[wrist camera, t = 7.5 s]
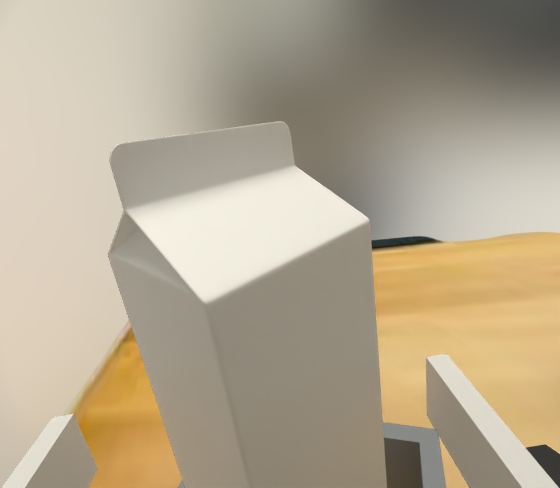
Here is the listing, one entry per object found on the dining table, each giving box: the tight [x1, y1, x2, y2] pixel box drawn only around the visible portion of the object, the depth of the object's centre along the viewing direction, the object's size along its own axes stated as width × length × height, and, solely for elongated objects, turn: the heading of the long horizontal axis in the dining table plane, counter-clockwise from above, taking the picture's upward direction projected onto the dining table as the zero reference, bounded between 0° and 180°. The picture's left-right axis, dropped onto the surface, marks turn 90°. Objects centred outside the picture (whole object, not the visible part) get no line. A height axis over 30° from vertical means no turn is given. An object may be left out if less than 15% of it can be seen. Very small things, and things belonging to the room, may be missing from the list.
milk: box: [108, 121, 387, 488], centre depth 13 cm, size 6×6×22 cm
